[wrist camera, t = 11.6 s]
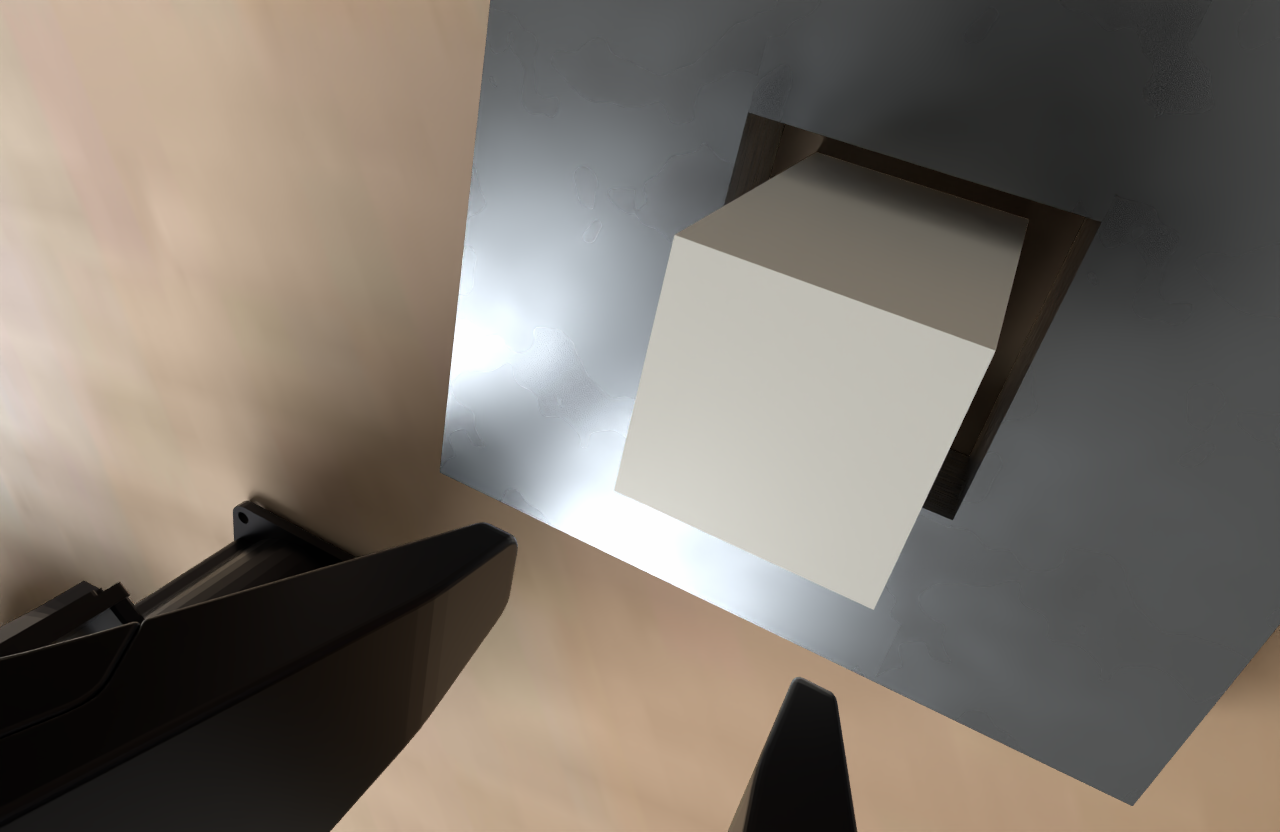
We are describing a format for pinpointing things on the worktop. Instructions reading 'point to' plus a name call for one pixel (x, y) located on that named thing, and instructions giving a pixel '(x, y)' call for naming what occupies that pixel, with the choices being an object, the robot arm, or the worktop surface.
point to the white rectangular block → (818, 366)
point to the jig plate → (1036, 386)
